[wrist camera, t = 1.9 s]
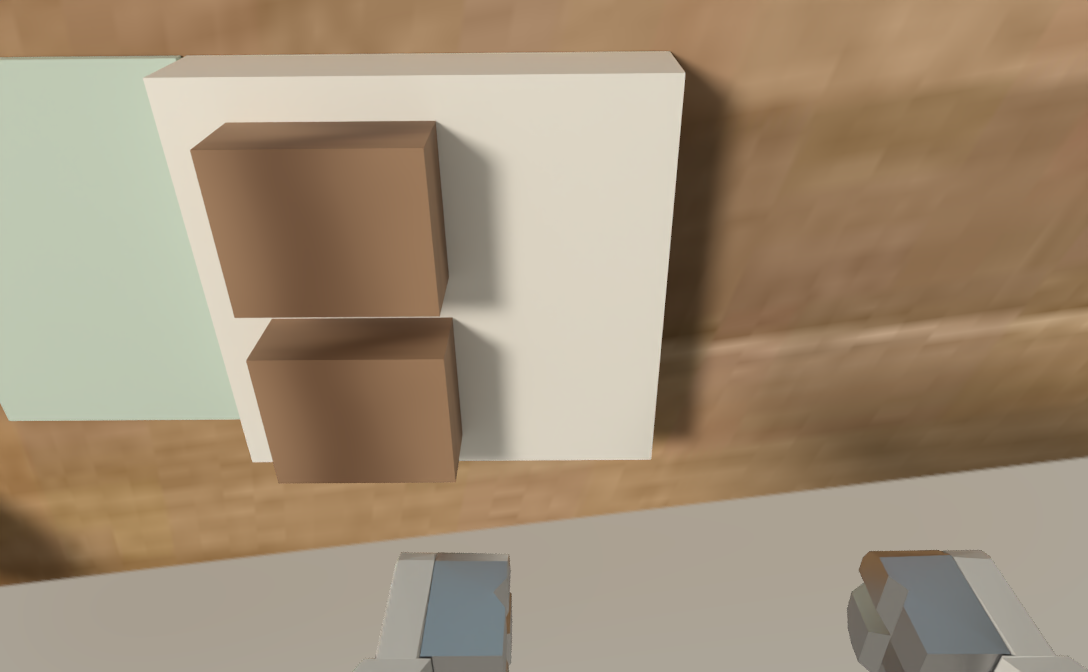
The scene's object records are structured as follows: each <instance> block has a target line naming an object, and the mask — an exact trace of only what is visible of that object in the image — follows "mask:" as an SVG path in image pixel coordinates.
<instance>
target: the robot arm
mask: <svg viewBox="0 0 1088 672" xmlns="http://www.w3.org/2000/svg"><path fill="white" fill-rule="evenodd" d="M859 572H860V574H861V577H862V579H863V581H864V583H863V584H862V585H860V586H859V587H858V588H856V589H855V590H854V591H852V593H851V596H850V600H849V604H848V608H847V617H848V631H849V635H850V639H851V644H852V647H853V649H854V652H855V655H856V657H857V660H858V662H859V663H860V664H862V665H863V666H864V667H865V668H866V669H867V670H868V671H870V672H1088V669H1086V668H1085V667H1083V666H1082V665H1080V664H1079V663H1078V662H1076V661H1075V660H1073V659H1072V658H1070V657H1069V656H1056V655H1055V653H1054V651H1053V650H1052V649H1051V647H1050V645H1049V644H1048V643H1047V641H1046V639H1045V638H1044V637H1043V635H1042V633H1041V632H1040V630H1039V629H1038V628H1037V626H1036V625H1035V623H1034V621H1033V620H1032V619H1031V617H1030V616H1029V614H1028V613H1027V611H1026V610H1025V608H1024V607H1023V605H1022V604H1021V602H1020V601H1019V599H1018V598H1017V596H1016V595H1015V593H1014V592H1013V590H1012V589H1011V587H1010V586H1009V584H1008V583H1007V581H1006V580H1005V578H1004V577H1003V575H1002V574H1001V572H1000V571H999V569H998V568H997V566H996V565H995V563H994V562H993V560H992V559H991V557H990V556H988V555H987V554H986V553H984V552H983V551H982V550H970V551H969V550H961V551H959V550H958V551H957V550H956V551H939V550H920V551H869V552H868V553H867V554H866V555H865V556H864V557H863V559H862V562H861V565H860V568H859ZM511 648H512V596H511V593H510V558H509V554H483V553H409V552H408V553H407V552H401V554H400V556H399V558H398V560H397V562H396V565H395V569H394V574H393V579H392V583H391V588H390V592H389V597H388V601H387V607H386V611H385V615H384V620H383V624H382V629H381V634H380V638H379V643H378V647H377V652H376V657H375V658H371V659H369V658H368V659H363V660H362V661H361V663H359V665H358V666H357V667H356V668H355V669H354V670H353V671H352V672H509V665H510V664H511Z"/></svg>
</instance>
